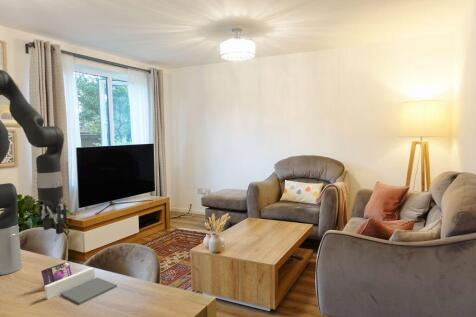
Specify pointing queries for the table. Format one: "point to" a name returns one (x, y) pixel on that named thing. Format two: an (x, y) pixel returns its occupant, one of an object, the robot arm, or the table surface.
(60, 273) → the purple framed toy figure
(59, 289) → the low wall
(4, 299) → the table surface
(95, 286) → the rubber mat
